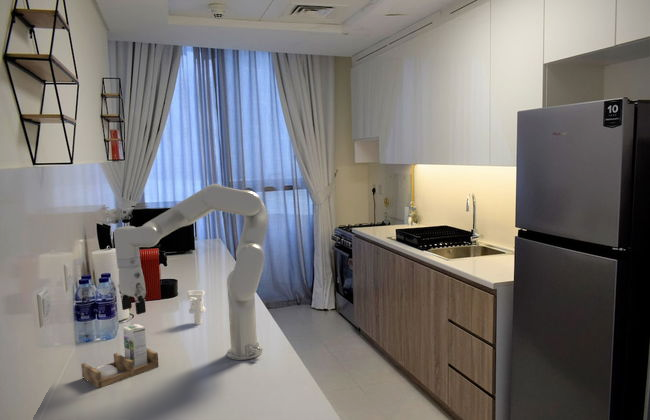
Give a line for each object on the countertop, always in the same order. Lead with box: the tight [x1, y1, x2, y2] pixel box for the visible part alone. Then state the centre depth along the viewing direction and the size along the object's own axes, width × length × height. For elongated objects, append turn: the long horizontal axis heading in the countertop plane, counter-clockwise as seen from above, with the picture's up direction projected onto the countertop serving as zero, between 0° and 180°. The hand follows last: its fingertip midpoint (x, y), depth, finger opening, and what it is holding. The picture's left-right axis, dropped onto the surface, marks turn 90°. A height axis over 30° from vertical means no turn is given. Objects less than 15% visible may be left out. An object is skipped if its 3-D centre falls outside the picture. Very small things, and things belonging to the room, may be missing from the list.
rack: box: [81, 347, 160, 389], centre depth 175 cm, size 12×21×5 cm, turn 138°
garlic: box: [96, 364, 119, 380], centre depth 172 cm, size 8×7×4 cm
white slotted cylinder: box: [187, 289, 207, 326], centre depth 224 cm, size 7×7×15 cm
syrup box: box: [122, 323, 147, 368], centre depth 178 cm, size 6×6×14 cm
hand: (134, 311), depth 177 cm, fingers open, 9 cm apart
